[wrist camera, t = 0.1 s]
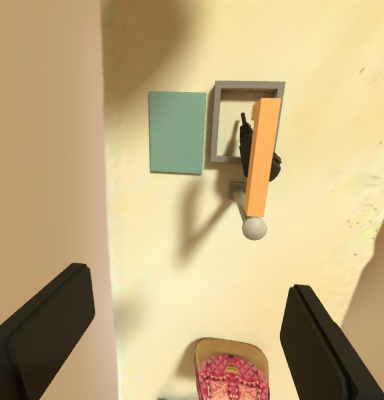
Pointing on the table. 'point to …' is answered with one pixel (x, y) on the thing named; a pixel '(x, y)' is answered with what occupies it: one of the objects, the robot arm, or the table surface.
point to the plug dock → (235, 189)
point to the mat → (177, 131)
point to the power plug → (245, 150)
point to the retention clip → (260, 165)
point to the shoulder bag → (230, 371)
